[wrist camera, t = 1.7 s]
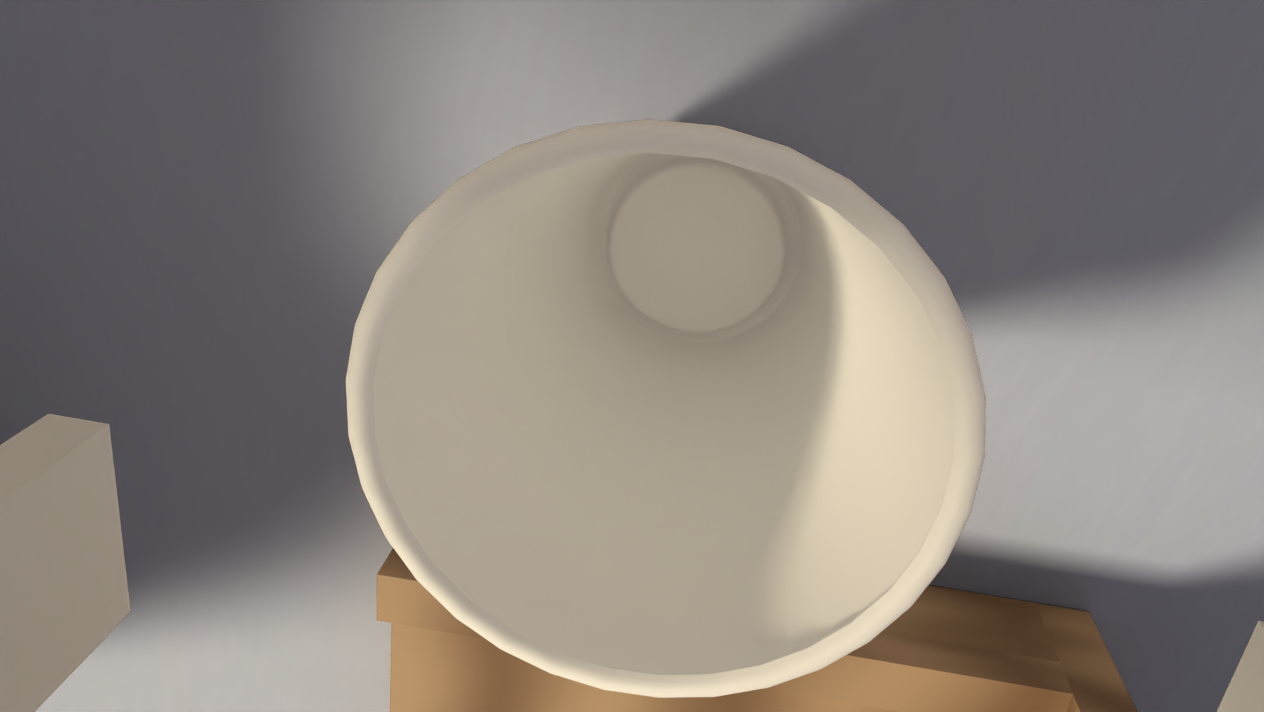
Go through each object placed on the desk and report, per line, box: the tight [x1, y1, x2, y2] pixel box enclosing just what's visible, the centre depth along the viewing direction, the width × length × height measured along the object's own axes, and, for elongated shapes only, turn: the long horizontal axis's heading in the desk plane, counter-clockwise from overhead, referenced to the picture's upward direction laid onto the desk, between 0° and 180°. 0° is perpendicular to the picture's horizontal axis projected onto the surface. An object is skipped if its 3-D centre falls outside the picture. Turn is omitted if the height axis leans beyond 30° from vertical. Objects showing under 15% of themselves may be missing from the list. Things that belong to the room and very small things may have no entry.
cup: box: [346, 119, 986, 698], centre depth 20 cm, size 10×10×11 cm
